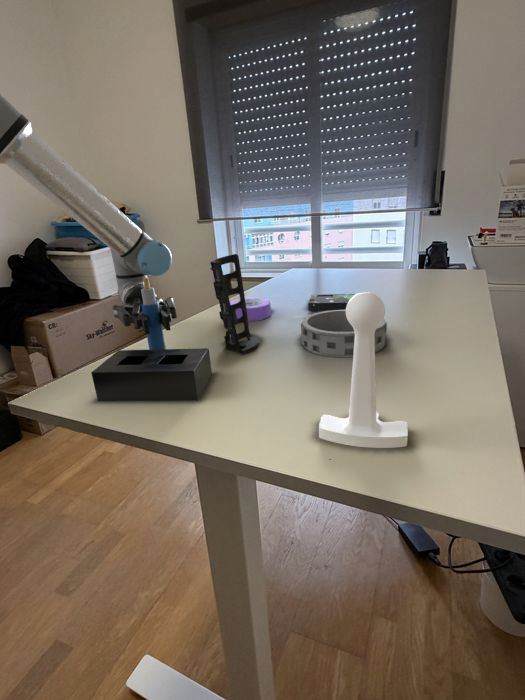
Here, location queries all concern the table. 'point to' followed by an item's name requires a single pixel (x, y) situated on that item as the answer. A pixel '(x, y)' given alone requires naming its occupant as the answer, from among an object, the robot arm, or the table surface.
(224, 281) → the holder
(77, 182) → the robot arm
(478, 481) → the table surface
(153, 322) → the soldering iron
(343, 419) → the joystick
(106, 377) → the two-slot black box
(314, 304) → the disk drive
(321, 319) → the ring
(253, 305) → the tape roll
